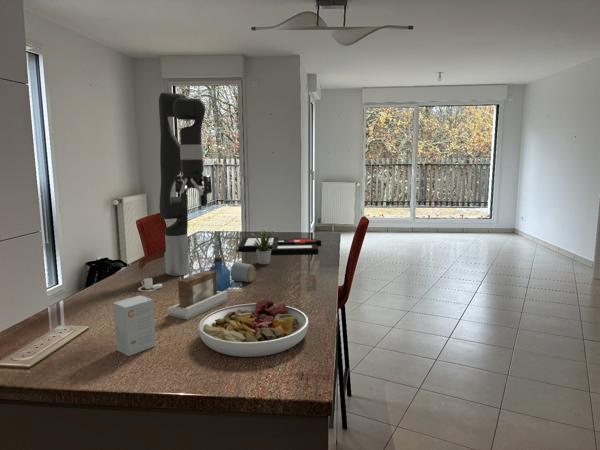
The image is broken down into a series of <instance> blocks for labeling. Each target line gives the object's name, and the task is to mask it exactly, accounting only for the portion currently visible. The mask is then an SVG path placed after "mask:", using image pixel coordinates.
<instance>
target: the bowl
mask: <svg viewBox="0 0 600 450" xmlns="http://www.w3.org/2000/svg"><path fill="white" fill-rule="evenodd" d="M308 328H309V318H308V316H307V315H306V314H305V313H304V311H302V310H300V309H298V308H295V307H291V306H287V305H286V304H285V303H284V302H282V301H281V302H280V301H279V302H276V303H274V301H273V300H272V299H271V298H270V297H267V296H264V297H261V298H260V299H259V300H258V301H257V302H255V303H254V302H253V303H244V304H238V305H237V304H236V305H231V306H226V307H224V308H220V309H217V310H214V311H213V312H209V314H207V315H205V316H204V317H203V318H202V319H201V320H200V321H199V323H198V332H199V333H198V334H199V336H200V338H201V340H202V342H203V343H204V344H205V345H206V346H207V347H208V348H210V349H211V350H212V351H215V352H217V353H220V354H222V355H223V354H224V355H228V356H233V357H241V358H242V357H245V358H246V357H247V358H253V357H263V356H270V355H274V354H279V353H282V352H284V351H287V350H290V349H291V348H293V347H295V346H296V345H298V344H299V343H301V341H302V340H303V339H304V338H305V336H306V334H307V332H308Z"/></svg>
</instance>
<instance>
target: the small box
mask: <svg viewBox="0 0 600 450" xmlns="http://www.w3.org/2000/svg"><path fill="white" fill-rule="evenodd" d="M112 308H113V309H112V311H113V321H114V333H115V344H116V351H118V352H120V353H122V354H124V355H126V356H127V357H130V356H133V355H136V354H138V353H141V352H143V351H146V350H148V349H151V348H154V347H156V346H157V341H156V340H157V339H156V336H157V335H156V325H155V312H154V311H155V310H154V299H152V298H149V297H147V296H144V295H137V296H133V297H128V298H125V299H122V300H118V301H115V302H112Z"/></svg>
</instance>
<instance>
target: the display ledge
mask: <svg viewBox="0 0 600 450" xmlns="http://www.w3.org/2000/svg"><path fill="white" fill-rule="evenodd" d="M228 297H229V296H228V290H224V291H217V294H216V295H214V296H212V297H209V298H207V299H205V300H203V301H200V302H198V303H196V304H193V305H191V306H189V307H187V308H180V306H179V303H177V304H174V305H173V306H170V307H167V308H168V309H167V311H168V312H167V315H168V316H169V317H172V318H178V319H183V320H191V319H193V318H195V317H197V316H199V315H201V314H203V313H205V312H207V311H209V310H212V309H214V308H216V307H218V306H220V305H222V304H224V303H226V302H228V299H229V298H228Z"/></svg>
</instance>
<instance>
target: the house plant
mask: <svg viewBox="0 0 600 450" xmlns="http://www.w3.org/2000/svg"><path fill="white" fill-rule="evenodd" d="M260 231H261V232H260V237H261V243H260V242H259V240H258V238H257V237H258V236H256V235H255V234H253V233H252V232H250V234H251V235H252V236H253V237H255V238H256V239H257V241H258V242H259V244H260V245H259V244H258V243H257V242H256V241H255V240H254V241H255V244H253V245H255V246H257V247H258V246H259V247H258V249H257V250H256V251H255V252H256V256H257V262H258V264H259V265H269V264H270V263H271V256H272V251H271V249H267V247H268V245H269V246H270V245H272V244H270V243H274V242H270V243H269V242H268V241H269V240H271V239H272V238H273V237H275V234H277V233H279V232H278V231H277V232H274V230H273V231H271V232H269V233H268V235H266V234H267V233H266V231H265V229H263V231H262V229H260ZM266 237H267V238H266ZM269 237H272V238H271V239H270V238H269ZM275 242H277V241H275ZM268 243H269V244H268ZM256 244H257V245H256Z"/></svg>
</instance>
